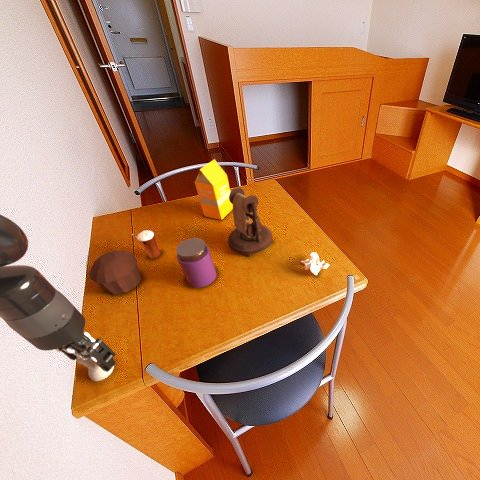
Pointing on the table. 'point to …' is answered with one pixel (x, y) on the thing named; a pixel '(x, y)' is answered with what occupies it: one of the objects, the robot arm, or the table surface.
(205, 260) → the jar
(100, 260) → the muffin
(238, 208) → the scroll
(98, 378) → the rook chess piece
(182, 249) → the jar lid
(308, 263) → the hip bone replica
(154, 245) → the milkshake
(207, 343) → the table surface
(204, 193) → the orange juice
